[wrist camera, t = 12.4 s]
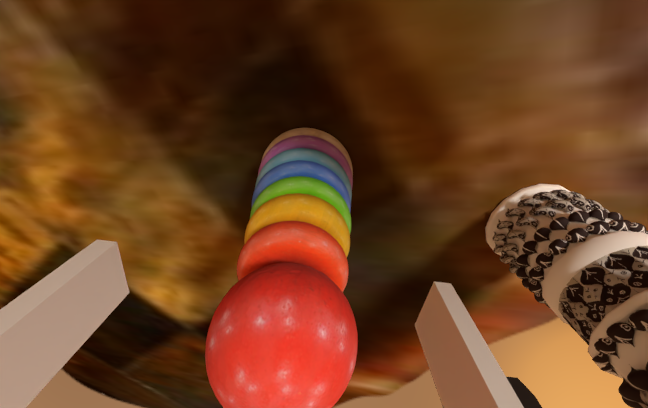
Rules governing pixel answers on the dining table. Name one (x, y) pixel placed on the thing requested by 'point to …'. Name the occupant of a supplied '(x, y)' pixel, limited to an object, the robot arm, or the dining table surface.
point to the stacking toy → (290, 284)
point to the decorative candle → (582, 274)
